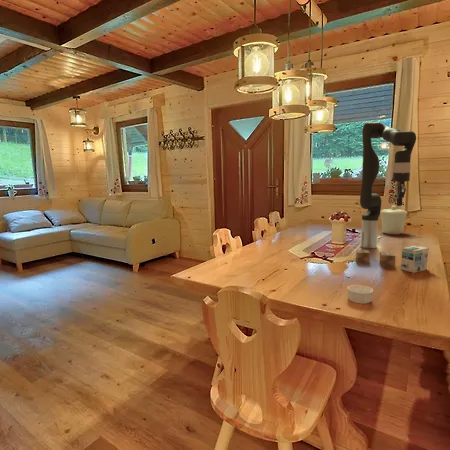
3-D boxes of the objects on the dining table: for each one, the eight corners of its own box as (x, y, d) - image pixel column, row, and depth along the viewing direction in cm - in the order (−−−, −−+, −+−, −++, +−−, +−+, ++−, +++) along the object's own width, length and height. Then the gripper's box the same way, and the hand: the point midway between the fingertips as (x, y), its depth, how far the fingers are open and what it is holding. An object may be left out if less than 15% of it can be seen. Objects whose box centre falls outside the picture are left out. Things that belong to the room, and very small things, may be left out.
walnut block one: (381, 266, 155) (382, 254, 154) (379, 263, 161) (380, 251, 160) (394, 267, 154) (395, 255, 153) (392, 264, 159) (393, 252, 158)
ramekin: (346, 303, 114) (347, 291, 113) (346, 294, 122) (347, 283, 122) (373, 306, 111) (374, 294, 110) (371, 296, 119) (372, 285, 118)
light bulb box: (413, 273, 145) (415, 250, 143) (400, 269, 151) (401, 247, 149) (427, 269, 150) (429, 247, 148) (413, 266, 156) (415, 245, 154)
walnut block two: (356, 263, 162) (357, 252, 161) (355, 260, 167) (356, 249, 166) (369, 264, 160) (370, 252, 159) (368, 261, 165) (368, 249, 164)
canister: (373, 231, 244) (375, 204, 240) (395, 230, 246) (397, 204, 242) (388, 236, 226) (390, 207, 223) (411, 235, 228) (413, 206, 225)
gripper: (390, 172, 166) (388, 204, 169) (396, 172, 154) (393, 207, 157) (406, 171, 164) (404, 204, 167) (413, 171, 152) (410, 207, 155)
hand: (399, 205), depth 162 cm, fingers closed
